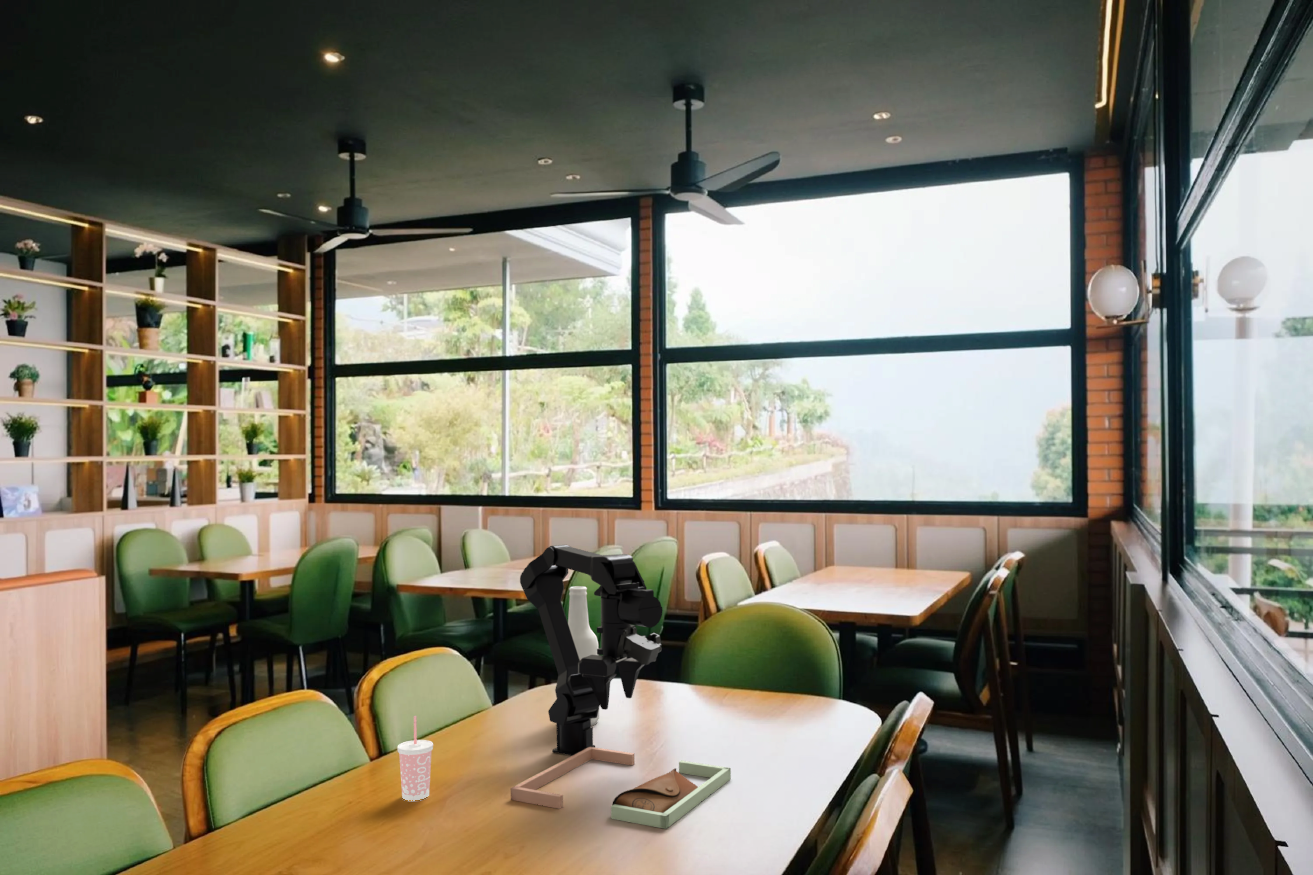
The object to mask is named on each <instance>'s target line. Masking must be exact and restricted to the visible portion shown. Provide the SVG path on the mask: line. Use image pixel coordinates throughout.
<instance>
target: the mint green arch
mask: <svg viewBox="0 0 1313 875" xmlns="http://www.w3.org/2000/svg"><path fill="white" fill-rule="evenodd" d="M678 773H680V774H682V775H683V774H685V775H691V776H698V777H705V778H709V779H707V780H706V781H705V782H704V783H702V784H701V785H700V786H698V788H697V789H695V790H694V791H692V792H691V793H690V794H688V795H687V796H686V797H684V798H683V799H682V800H680V801H679V802H677V803H676V804H675V805H673V806H672V807H671V808H669V809H668V810H667V811H665V812H664V813H660V812H655V811H649V810H644V809H638V808H632V807H627V806H621V805H616V804H614V805H612V804H611V806H610V810H611V811H610V814H611V815H610V816H611V817H610V818H611V819H612V820H616V821H617V820H618V821H622V822H627V823H628V822H629V823H633V824H637V825H641V826H642V825H643V826H648V827H655V828H660V829H665V830H666V829H668V828H669V827H670V826H672V825H673V824H674V823H676V822H677V821H679V819H680V820H681V818H682V817H684V816H685V815H686V814H687V813H689V812H690V811H691V810H692V809H694V808H695V807H696V806H698V805H699V804H701V803H702V802H703V801H704V800H706V799H707V798H708V797H709V796H711V795H712V794H713V793H715V792H716V791H717V790H718V789H719V788H721V787H723V785H726V783H728V782H729V781H730V780H732V779H731V778H732V775H731V773H732V771H731V767H727V766H721V765H713V764H707V763H700V762H694V761H686V760H680V761H678ZM710 794H711V795H710ZM701 801H702V802H701Z"/></svg>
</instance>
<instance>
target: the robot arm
mask: <svg viewBox="0 0 1313 875" xmlns="http://www.w3.org/2000/svg"><path fill="white" fill-rule="evenodd" d="M569 570H571V571H575V572H577V573H582V574H583V575H584V574H585V575H588V576H589V577H590V579H591V581H592V582H594V583H596V584H597V585H599V587H598V588H596V590H595V591H594V592H593V595H594V596H595V597H600V626H597V627H596V633H597V634H600V642H601V646H600V648H599V647H598V649H597V654H598V655H590V656H587V657H584V658H582V659H581V660H580V659H579V656H578V653H577V650H576V647H575V644H574V641H573V637H572V634H571V631H570V628H569V625H568V619H567V616H566V613H565V610H564V607H563V604H562V597H563V594H564V589H565V585H564V579H566V577H567V576H568V574H569ZM519 583H520V587H521V589H522V591H523V593H524V596H525V598H526V599H527V601H528V602H530V604H531V605H532V606H534V607H535V608H536V609H537V612H539V616H540V619H541V620H540V621H541V623H542V626H543V629H544V633H545V636H546V638H547V642H548V645H549V648H550V649H549V650H550V652H551V655H552V658H553V661H554V665H555V667H556V672H557V675H558V676H557V680H556V684H555V685H556V686H555V688H554V692H555V697H556V699H555V701H554V702H553V703H552V705H551V706H550V707H549V709H548V711H547V712H548V718H549V721H550V722H552V723H553V724H554V723H555V724H556V747H555V748H553V749H551V750H552V753H554V754H555V753H556V754H562V755H568V756H573V755H575V754H577V753H579V752H581V751H583V750H584V749H586V748H588V747H595V748H596V745H595V744H594V737H593V736H594V734H593V733H594V731H593V727H592V726H591V718H597V715H598V711H599V712H600V708H601V709H602V710H608V708H609V700H610V691H611V682H612V681H613V679H614V678H615V677H616V676H617V674H618V673H616V670H617V669H618V672H619V677H620V681H621V684H622V688H623V692H624V695H625V698H626V699H631V698H633V696H634V695H633V694H634V691H635V686H636V683H637V681H638V677H639V674H640V671H641V669H642V668H643V667H644V666H647V665H650V663H654V662H656V661H657V657H658V655H659V653H661V652H662V651H663V650H662V649H663V648H662V641H661V639H662V638H661V635H660V634H658V633H655V632H653V633H650V634H648V636H646V635H639V634H638V632H637V631H638V629H637V626H638V627H644V628H654V627H655V626H657V625H659V623H660V621H661V619H662V616H663V606H662V604H661V602H660V600H659V599H658V598H657V597H656V596H655V595H654V594H655V592H654V590H653V589H650V588H649V589H647V585H646V584H645V580H644V579H643V577H642V575H641V573H640V571H639V569H638V567H637V564H636V562H635V561H634V558H633V556H632V555H630V554H628V553H627V554H626V553H620V554H599V553H597V552H592V551H588V550H583V549H579V548H575V547H572V546H570V545H568V544H558V545H557V544H556V545H550V546H547V547H546V548H545V549H544V551H543V552H542V553H541V554H540V555H539V556H537V557H536V558H534V559H533V560H532V561H530V562H528V564H527V565H526V567H525V568H523V570H522V572H521V574H520V576H519Z"/></svg>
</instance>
